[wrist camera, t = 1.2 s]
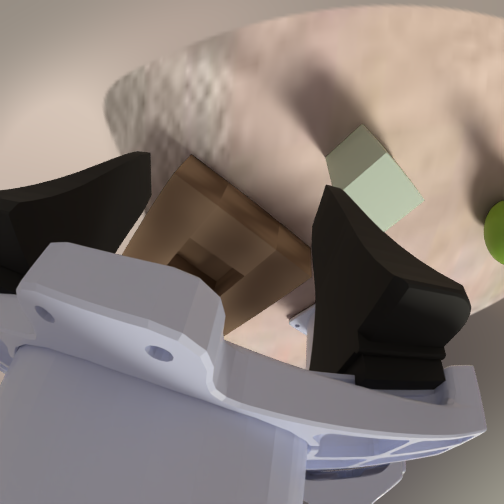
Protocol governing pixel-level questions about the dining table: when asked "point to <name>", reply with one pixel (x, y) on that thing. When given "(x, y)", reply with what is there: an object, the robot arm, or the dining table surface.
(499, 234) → the snail figurine
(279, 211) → the dining table surface
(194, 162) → the walnut socket block
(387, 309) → the robot arm
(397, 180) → the sage peg
